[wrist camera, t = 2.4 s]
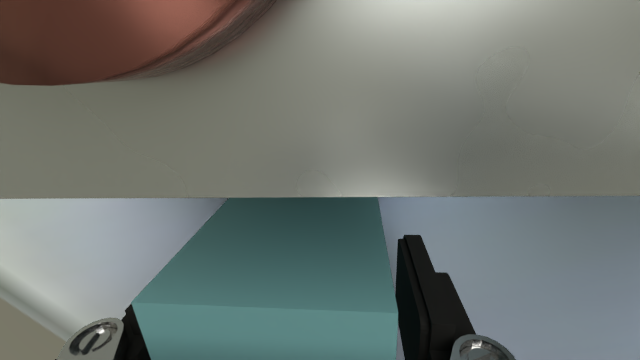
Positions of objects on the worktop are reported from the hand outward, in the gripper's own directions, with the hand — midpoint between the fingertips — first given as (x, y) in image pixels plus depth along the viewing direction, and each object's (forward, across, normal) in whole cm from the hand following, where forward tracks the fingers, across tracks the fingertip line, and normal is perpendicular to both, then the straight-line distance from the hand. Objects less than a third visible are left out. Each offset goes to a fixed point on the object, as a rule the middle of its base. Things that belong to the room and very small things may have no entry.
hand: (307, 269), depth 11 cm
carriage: (+3, 0, 0) cm, 3 cm away
